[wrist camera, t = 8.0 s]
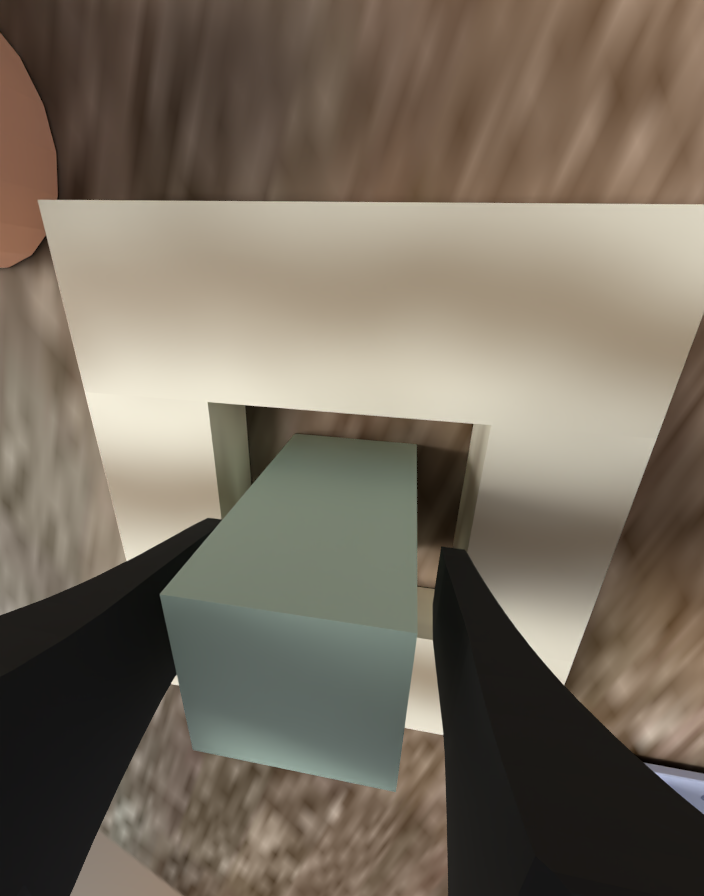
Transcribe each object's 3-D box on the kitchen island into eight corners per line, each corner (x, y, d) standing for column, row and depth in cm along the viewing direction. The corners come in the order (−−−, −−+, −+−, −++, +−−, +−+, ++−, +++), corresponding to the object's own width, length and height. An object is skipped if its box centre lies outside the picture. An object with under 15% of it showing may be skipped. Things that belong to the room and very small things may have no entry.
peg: (405, 547, 15) (395, 792, 8) (297, 533, 16) (193, 749, 8) (416, 444, 13) (417, 633, 6) (295, 433, 14) (159, 594, 7)
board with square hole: (522, 690, 17) (538, 753, 15) (187, 633, 19) (156, 681, 17) (668, 224, 10) (743, 204, 8) (109, 216, 12) (37, 199, 10)
